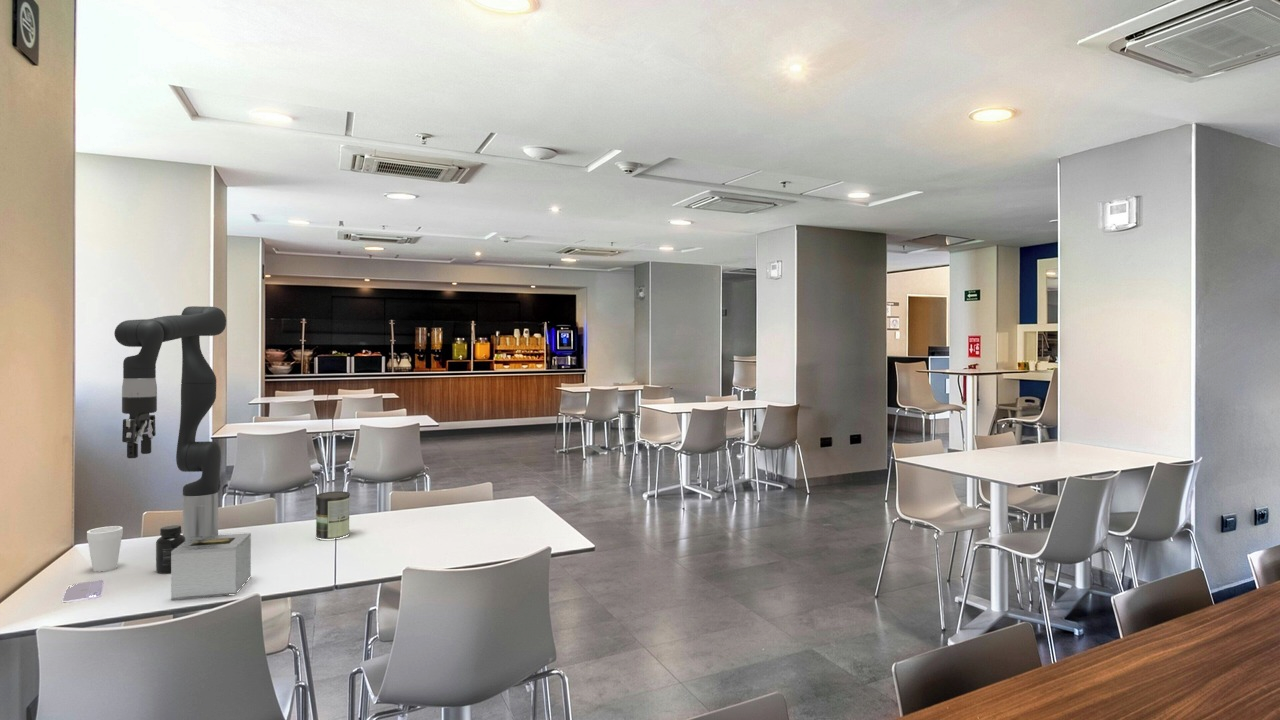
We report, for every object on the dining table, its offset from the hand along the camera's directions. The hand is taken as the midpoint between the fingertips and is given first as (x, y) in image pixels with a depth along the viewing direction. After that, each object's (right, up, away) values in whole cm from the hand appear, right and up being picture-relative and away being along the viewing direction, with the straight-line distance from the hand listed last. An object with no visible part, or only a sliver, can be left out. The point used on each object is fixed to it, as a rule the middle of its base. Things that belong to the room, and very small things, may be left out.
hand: (139, 455), depth 181 cm
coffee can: (+32, -33, +44) cm, 64 cm away
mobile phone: (-7, -34, -9) cm, 36 cm away
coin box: (+24, -33, -6) cm, 41 cm away
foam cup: (-16, -33, +9) cm, 38 cm away
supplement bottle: (+3, -33, +8) cm, 34 cm away
